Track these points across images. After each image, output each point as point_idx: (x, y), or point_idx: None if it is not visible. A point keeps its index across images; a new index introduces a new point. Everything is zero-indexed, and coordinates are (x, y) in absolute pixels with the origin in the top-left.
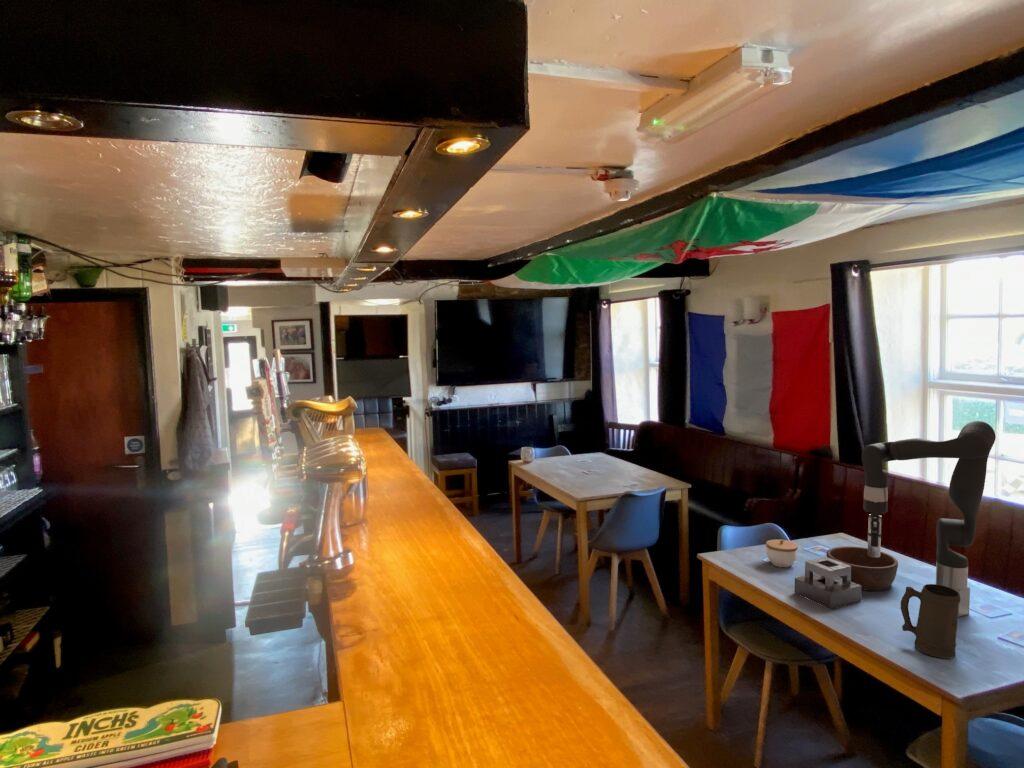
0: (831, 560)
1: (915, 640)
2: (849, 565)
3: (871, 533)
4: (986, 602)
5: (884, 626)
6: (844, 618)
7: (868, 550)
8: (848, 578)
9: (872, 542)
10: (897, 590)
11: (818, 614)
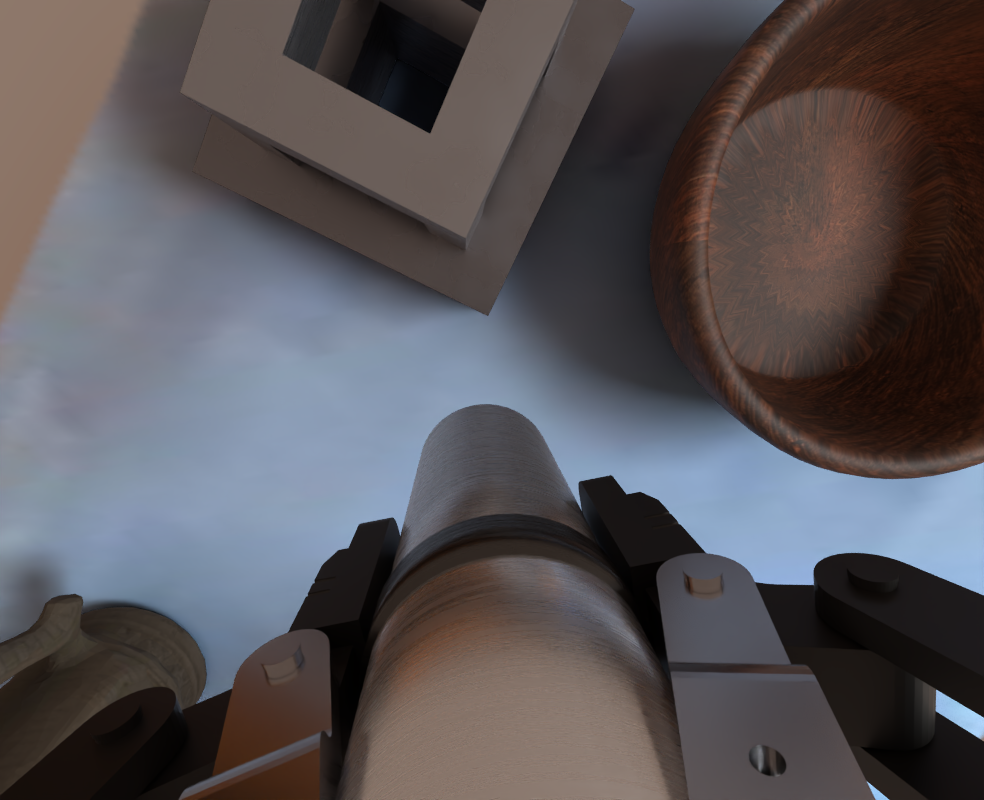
0: (516, 24)
1: (82, 625)
2: (686, 184)
3: (25, 788)
4: None
5: (232, 467)
6: (182, 287)
7: (437, 440)
8: (440, 234)
9: (317, 583)
10: (756, 434)
11: (124, 149)
